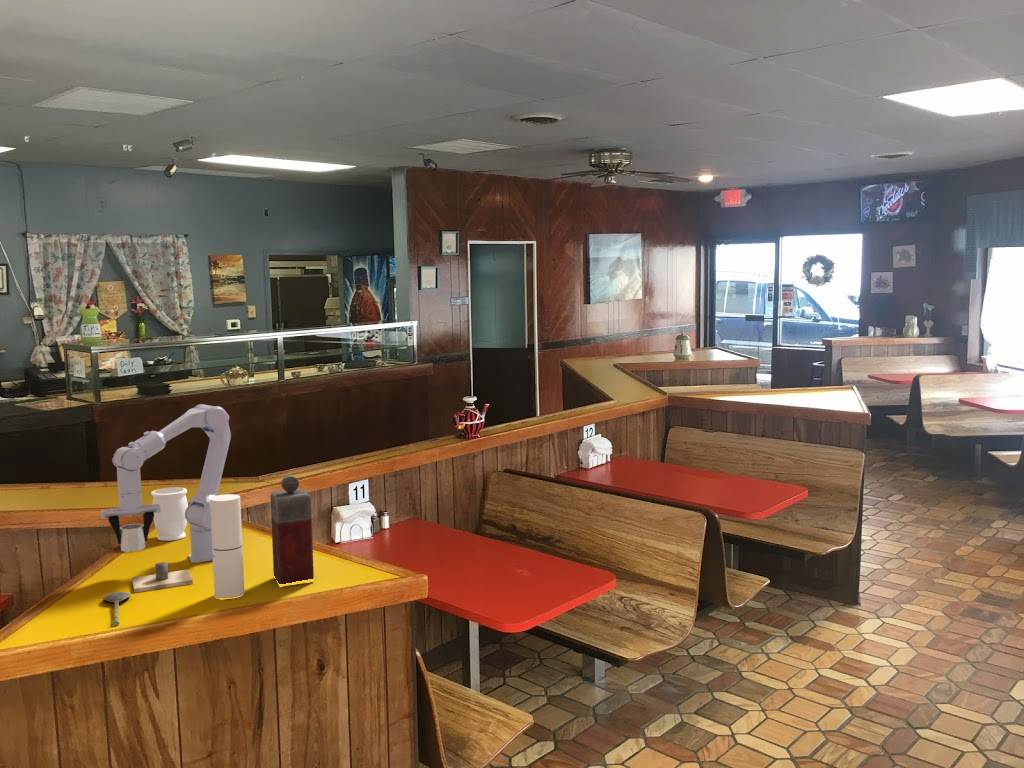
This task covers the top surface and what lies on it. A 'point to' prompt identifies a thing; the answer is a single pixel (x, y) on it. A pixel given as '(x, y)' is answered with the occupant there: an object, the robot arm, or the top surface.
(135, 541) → the collar
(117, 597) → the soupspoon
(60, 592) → the top surface
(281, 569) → the ball-stopper bottle
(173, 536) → the jar
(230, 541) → the cylindrical container
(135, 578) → the board
